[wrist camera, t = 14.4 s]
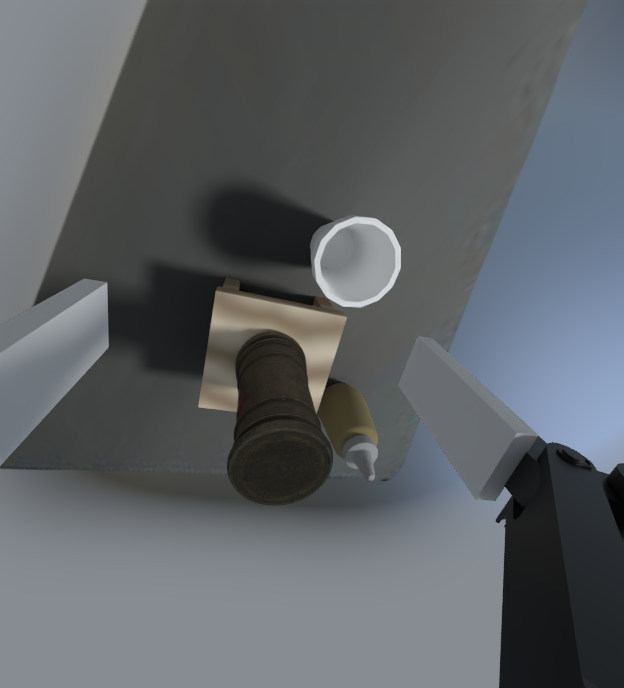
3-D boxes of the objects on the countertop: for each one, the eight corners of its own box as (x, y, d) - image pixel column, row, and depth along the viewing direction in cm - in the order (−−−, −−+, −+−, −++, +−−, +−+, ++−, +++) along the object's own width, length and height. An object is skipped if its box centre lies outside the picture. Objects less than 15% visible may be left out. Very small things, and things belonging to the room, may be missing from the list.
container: (277, 316, 39) (292, 402, 23) (319, 366, 43) (357, 470, 27) (219, 359, 41) (196, 469, 24) (265, 404, 44) (271, 525, 28)
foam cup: (311, 289, 48) (329, 319, 36) (288, 226, 44) (301, 237, 32) (371, 265, 48) (409, 288, 36) (354, 200, 44) (390, 202, 32)
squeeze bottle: (362, 409, 59) (403, 490, 43) (319, 420, 58) (344, 507, 42) (356, 371, 55) (398, 444, 39) (310, 383, 55) (333, 463, 39)
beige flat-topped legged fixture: (222, 273, 45) (215, 290, 37) (331, 296, 49) (347, 317, 41) (207, 373, 51) (198, 407, 43) (305, 387, 55) (314, 420, 47)
